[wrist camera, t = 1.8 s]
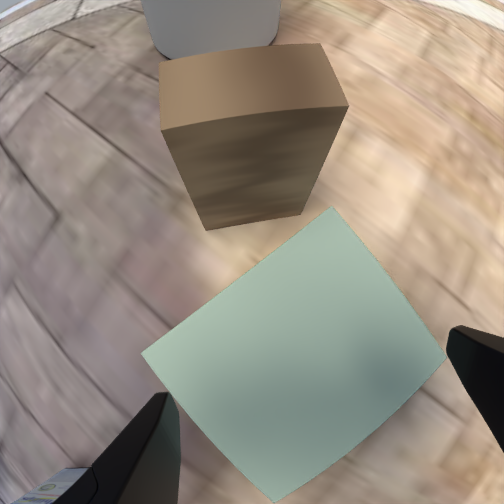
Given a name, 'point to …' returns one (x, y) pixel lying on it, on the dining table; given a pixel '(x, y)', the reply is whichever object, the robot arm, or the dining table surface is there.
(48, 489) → the medicine box
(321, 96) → the walnut slab
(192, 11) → the cylinder vase
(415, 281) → the dining table surface
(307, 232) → the mat
